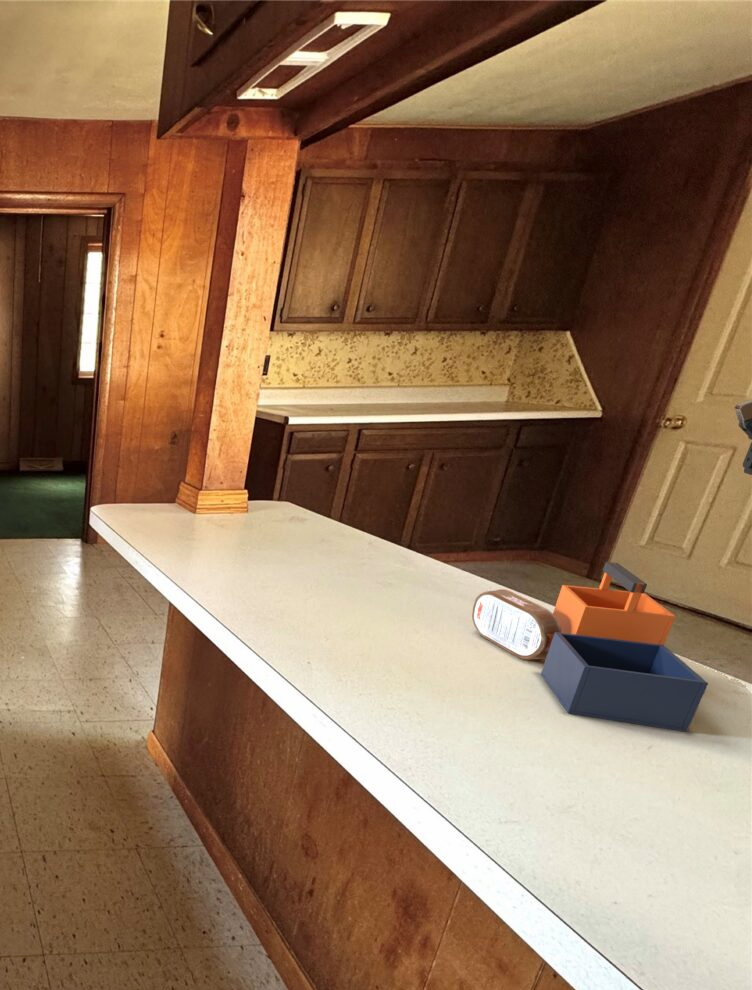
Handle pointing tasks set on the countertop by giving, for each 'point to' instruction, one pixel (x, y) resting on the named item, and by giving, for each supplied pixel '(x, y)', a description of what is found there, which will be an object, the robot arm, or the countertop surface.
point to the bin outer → (622, 681)
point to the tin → (515, 623)
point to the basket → (613, 610)
